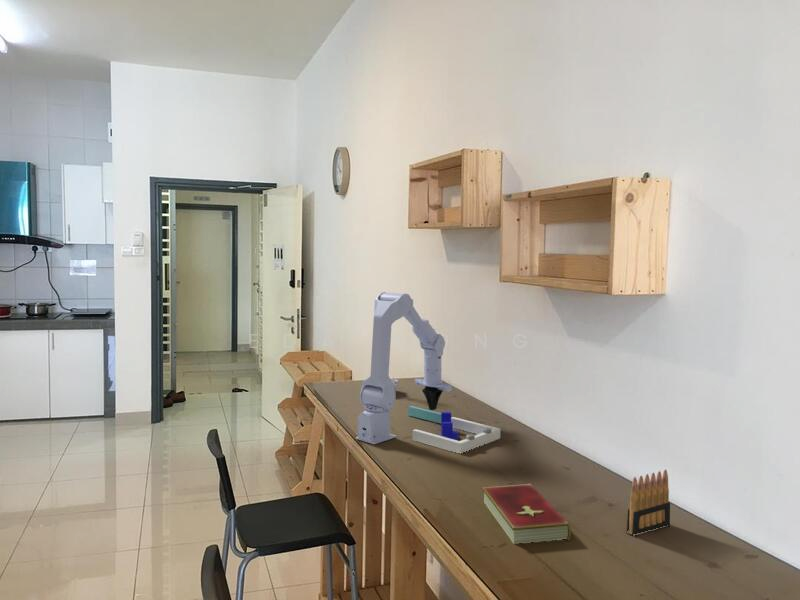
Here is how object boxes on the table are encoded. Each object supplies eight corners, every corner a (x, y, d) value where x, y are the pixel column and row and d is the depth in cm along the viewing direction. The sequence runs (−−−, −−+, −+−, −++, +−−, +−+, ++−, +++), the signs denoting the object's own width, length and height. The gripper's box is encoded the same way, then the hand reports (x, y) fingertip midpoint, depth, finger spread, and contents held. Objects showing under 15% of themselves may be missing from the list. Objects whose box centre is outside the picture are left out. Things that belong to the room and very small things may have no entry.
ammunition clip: (633, 536, 132) (635, 479, 131) (626, 533, 133) (628, 476, 132) (670, 525, 137) (672, 470, 136) (662, 522, 138) (665, 467, 137)
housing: (461, 454, 181) (461, 441, 180) (412, 440, 194) (412, 427, 193) (501, 438, 195) (501, 426, 194) (453, 426, 207) (453, 414, 207)
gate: (408, 415, 219) (408, 406, 218) (410, 414, 220) (410, 405, 219) (447, 425, 207) (447, 416, 207) (450, 424, 208) (450, 415, 208)
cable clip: (457, 443, 191) (457, 423, 190) (442, 443, 191) (442, 423, 191) (455, 430, 203) (455, 412, 202) (441, 430, 203) (441, 412, 202)
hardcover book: (532, 500, 151) (532, 482, 151) (570, 542, 131) (570, 522, 130) (482, 504, 149) (482, 486, 149) (512, 547, 129) (513, 526, 128)
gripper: (457, 370, 215) (457, 410, 216) (424, 364, 224) (424, 403, 226) (443, 373, 209) (443, 415, 211) (410, 367, 219) (410, 407, 221)
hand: (432, 409), depth 218 cm, fingers closed
